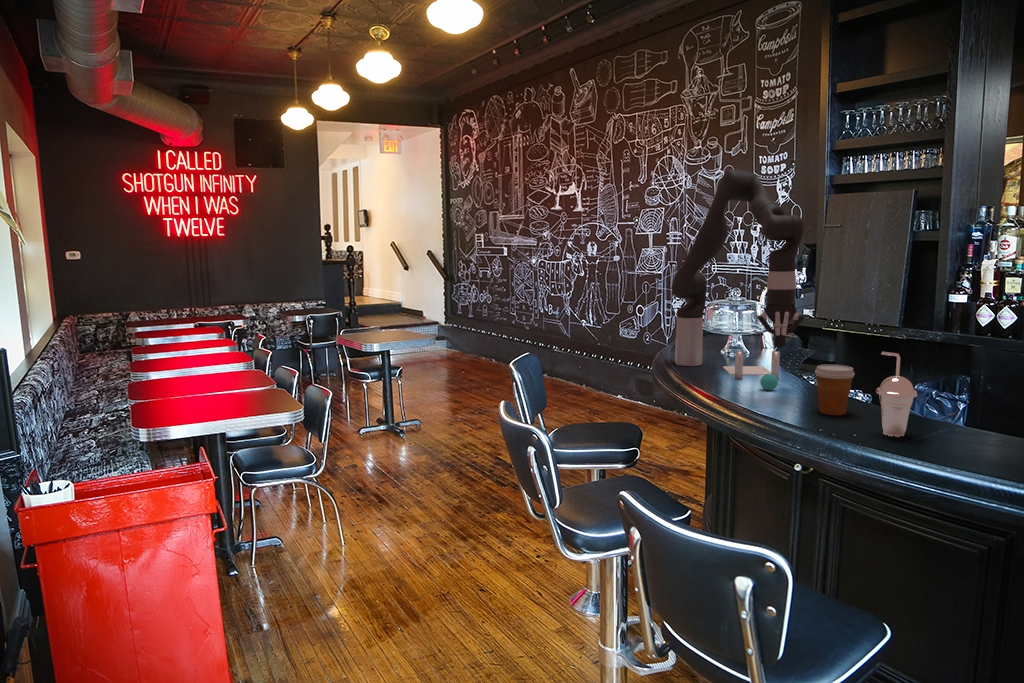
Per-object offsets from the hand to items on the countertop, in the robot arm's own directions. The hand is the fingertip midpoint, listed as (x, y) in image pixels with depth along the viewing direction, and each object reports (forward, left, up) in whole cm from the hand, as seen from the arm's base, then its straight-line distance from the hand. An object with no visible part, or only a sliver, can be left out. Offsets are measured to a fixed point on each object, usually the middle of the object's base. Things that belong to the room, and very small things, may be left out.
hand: (779, 348), depth 200 cm
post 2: (+6, +26, -14) cm, 30 cm away
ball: (0, +10, -12) cm, 15 cm away
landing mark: (0, +40, -14) cm, 42 cm away
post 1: (-6, +26, -14) cm, 30 cm away
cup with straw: (+17, -36, -15) cm, 43 cm away
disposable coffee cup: (+10, -16, -15) cm, 24 cm away
